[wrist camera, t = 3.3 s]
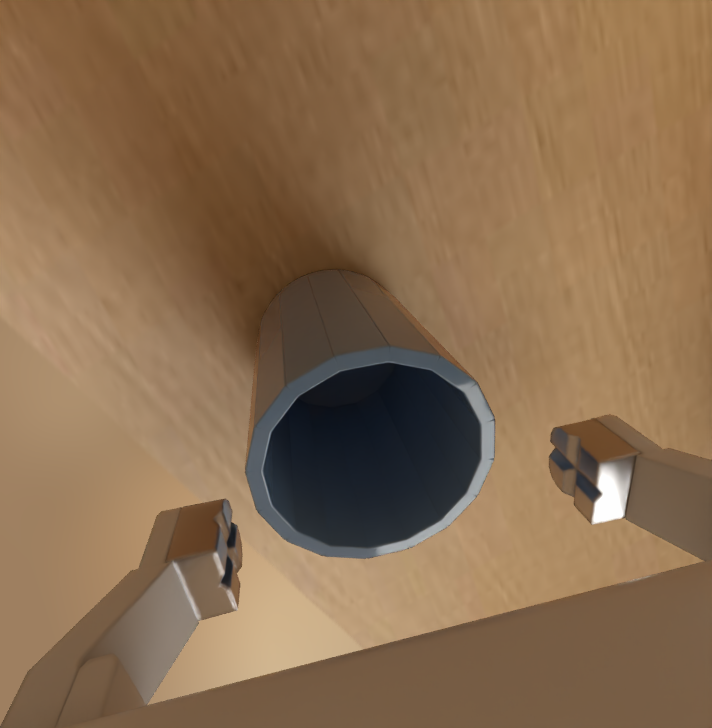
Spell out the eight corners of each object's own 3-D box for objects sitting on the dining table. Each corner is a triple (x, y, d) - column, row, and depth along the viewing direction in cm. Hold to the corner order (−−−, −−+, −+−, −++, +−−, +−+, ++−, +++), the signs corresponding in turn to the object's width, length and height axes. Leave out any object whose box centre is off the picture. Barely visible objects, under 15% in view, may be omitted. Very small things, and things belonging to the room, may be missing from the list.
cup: (274, 420, 21) (277, 581, 13) (241, 283, 18) (216, 377, 10) (410, 393, 21) (494, 529, 13) (398, 257, 19) (497, 324, 10)
